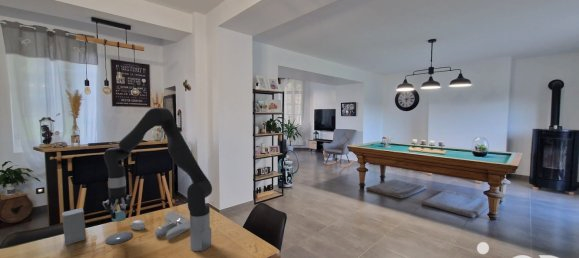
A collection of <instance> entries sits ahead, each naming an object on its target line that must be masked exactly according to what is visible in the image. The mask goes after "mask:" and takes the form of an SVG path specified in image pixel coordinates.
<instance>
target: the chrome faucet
mask: <svg viewBox="0 0 579 258" xmlns="http://www.w3.org/2000/svg"><path fill="white" fill-rule="evenodd" d="M164 221H165V222H166V223H165V224H163V225H161V226H158V227H157V228H155V231H154V233H155V234H154V235H155V236H156V237H157V238H162V237H165V238H166V239H167V240H172V239H173V238H175V237H177V236H179V235H181V234H183V233H184V232H186V231H188V230H190V220H189V219H187V217H185V216H183V215H182V214H179V213H178V212H176V211H173V210H171V211H169V212H167V213H166V214H165V216H164Z"/></svg>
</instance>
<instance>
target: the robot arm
mask: <svg viewBox="0 0 579 258" xmlns="http://www.w3.org/2000/svg"><path fill="white" fill-rule="evenodd" d="M174 117H175V116H174V115H173V113H172V112H171V110H169V109H168V108H166V107H165V108H164V107H151V108H150V109H149V110H148V111H146V112H145V113H144V115H143V117H142V118H141V119H140V120H139V122H137V124H136V125H135V126H134V128H132V130H130V132H128V133H127V134H126V135H125V136H124V137H123V138H121V139H120V140H119V143H118V146H116V147H110V148H107V149H106V150H105V151H104V153H103V160H104V162H105V166H106V168H107V170H108V171H107V172H108V181H107V189H108V197H107V200H106V201H102V203H101V204H102V206H103V208H104V210H105V212H108V213H110V218H111V219H112V218H113V219H116V214H115V213H116V209H117V207H118V205H120V211H125V215H126V214H127V212H126V208H129V207H130V205H131V203H132V202H131V201H132V200H133V195H131V194H127V179H126V168H125V166H124V165H123V164H119V161H122V160H124V159H126V158H128V157H129V155H130V154H131V153H132V151H133V149H135V148H136V147H137V146H139V145H140V144H141V143H142V141H143V140H144V138H145V135H146V134H147V132H149V131H150V130H152V129H153V128H155V127H161V128H162V130H163V132H164V134H165V136H166V138H167V151H168V152H167V153H168V154H169V155H170V158H171V159H172V161H173V163H174V164H175V165H176V166H177V167H178V168H179V169H181V170H182V171H183V172H185V173H186V174H187V176H188V177H189V178H190V179H191V181H192V183H190V185H188V187H187V191H186V200H187V209H188V211H189V222H190V227H189V233H190V235H189V237H190V238H189V239H190V240H189V241H190V250H191V251H193V252H201V253H202V252H204V251H206V250H207V249H209V248H210V247H212V227H211V221H210V220H211V217H210V215H211V214H210V213H211V210H210V209H211V208H210V205H209V204H206V198H208V197H209V196H210V195H211V194H212V192H213V186H212V183H211V181H210V180H209V179H208V177H207V175H206V174H205V173H204V172H203V170H202V168H201V167H200V165H199V164H198V162H197V160H196V158H195V157H194V155H193V153H192V151H191V149H190V147H189V145H188V143H187V142H186V140H185V138H184V136H183V135H182V133H181V131H180V129H179V127H178V124H177V122H176V120H175V118H174ZM125 200H126V201H125ZM109 205H110V206H109Z"/></svg>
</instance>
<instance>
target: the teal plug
mask: <svg viewBox="0 0 579 258" xmlns="http://www.w3.org/2000/svg"><path fill="white" fill-rule="evenodd" d="M115 212H116V213H115V214H116V219H113V218H111V221H112V222H115V223H116V222H119V223H120V222H122V221H125V220H126V214H125V213H126V210H125V211H121V210H117V211H116V210H115Z"/></svg>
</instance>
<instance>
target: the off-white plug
mask: <svg viewBox="0 0 579 258" xmlns="http://www.w3.org/2000/svg"><path fill="white" fill-rule="evenodd" d="M129 226H130V227H131V229H132V230H136V231H143V230H145V229H146V221H145V220H138V219H136V220H134V221H132V222H131V223H130V224H129Z"/></svg>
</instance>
